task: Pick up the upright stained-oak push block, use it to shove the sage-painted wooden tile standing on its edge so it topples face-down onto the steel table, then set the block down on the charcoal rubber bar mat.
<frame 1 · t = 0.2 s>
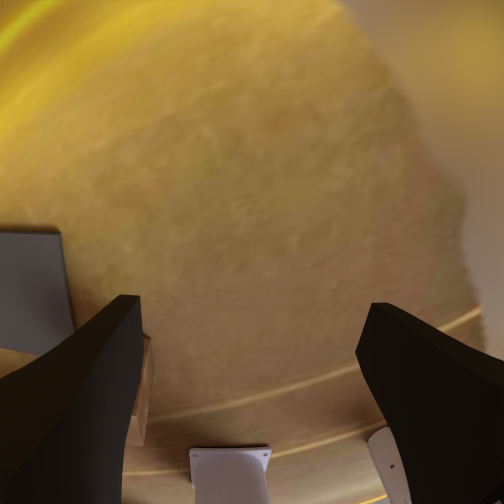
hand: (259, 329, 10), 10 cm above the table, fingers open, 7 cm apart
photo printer: (395, 436, 32), on the table
oak push block: (130, 353, 21), on the table
bar mat: (24, 297, 19), on the table
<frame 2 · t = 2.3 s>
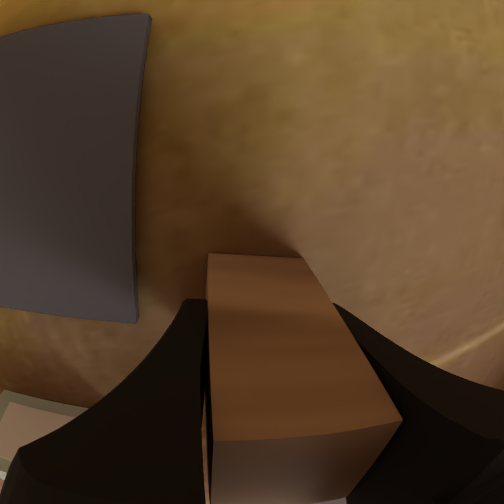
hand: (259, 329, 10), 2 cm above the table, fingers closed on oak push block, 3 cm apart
oak push block: (251, 297, 11), on the table, touching gripper
bar mat: (27, 175, 9), on the table
sage tile: (60, 408, 13), on the table
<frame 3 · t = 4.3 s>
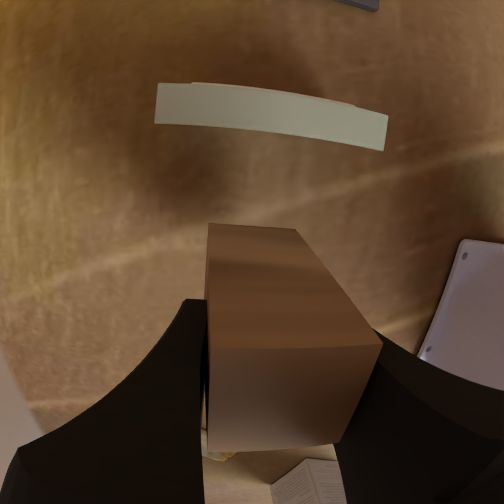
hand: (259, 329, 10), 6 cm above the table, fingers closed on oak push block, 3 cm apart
skincare box: (304, 472, 25), on the table
oak push block: (248, 266, 12), point 3 cm above the table, touching gripper
snack bar: (182, 425, 21), on the table
sage tile: (256, 116, 13), on the table
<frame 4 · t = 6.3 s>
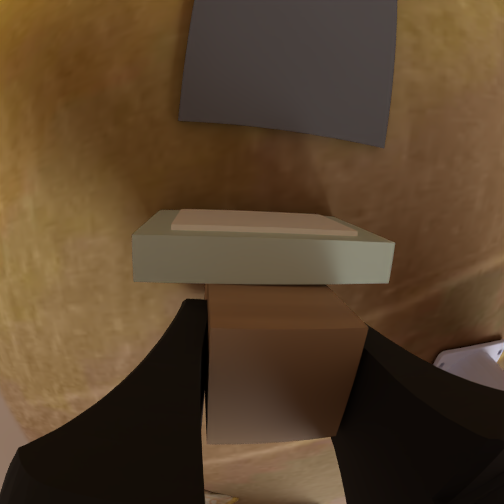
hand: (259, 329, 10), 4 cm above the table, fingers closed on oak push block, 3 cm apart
oak push block: (244, 283, 13), point 1 cm above the table, tilted 8°, touching gripper
snack bar: (184, 485, 22), on the table
bar mat: (300, 12, 10), on the table
sage tile: (248, 226, 13), on the table, tilted 8°
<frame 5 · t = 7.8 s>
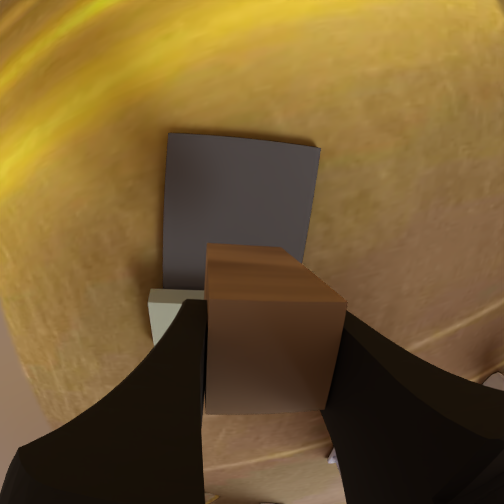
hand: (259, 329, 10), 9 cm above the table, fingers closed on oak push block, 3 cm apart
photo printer: (493, 387, 31), on the table
oak push block: (241, 281, 14), point 5 cm above the table, tilted 11°, touching gripper
snack bar: (180, 486, 30), on the table
bar mat: (236, 227, 18), on the table
sage tile: (209, 354, 21), point 1 cm above the table, tilted 80°, touching bar mat
when the fingers open (3 cm above the table, at t = 9.3 s): oak push block stays where it is, resting on bar mat.
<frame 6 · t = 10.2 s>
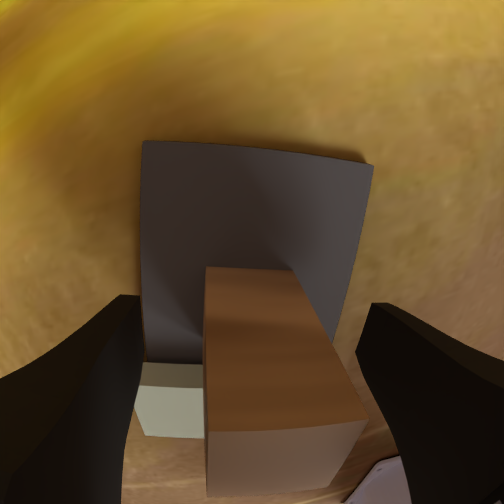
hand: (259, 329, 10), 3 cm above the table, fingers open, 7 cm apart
oak push block: (245, 306, 12), resting on bar mat
bar mat: (247, 280, 13), on the table
sage tile: (212, 428, 15), point 1 cm above the table, tilted 80°, touching bar mat
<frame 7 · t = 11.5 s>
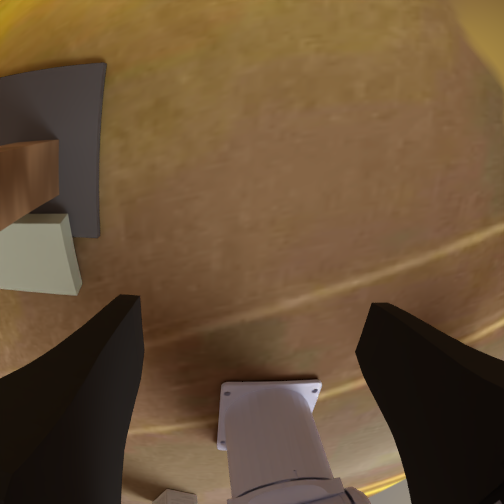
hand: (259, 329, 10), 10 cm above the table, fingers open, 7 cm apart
skincare box: (174, 497, 31), on the table
oak push block: (36, 168, 15), resting on bar mat
bar mat: (40, 152, 15), on the table
sage tile: (35, 286, 18), point 1 cm above the table, tilted 80°, touching bar mat
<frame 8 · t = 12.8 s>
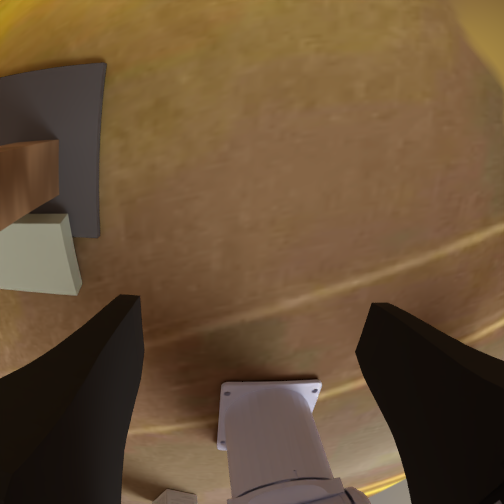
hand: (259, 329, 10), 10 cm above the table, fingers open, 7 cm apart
skincare box: (174, 497, 31), on the table
oak push block: (36, 168, 15), resting on bar mat
bar mat: (40, 152, 15), on the table
sage tile: (35, 286, 18), point 1 cm above the table, tilted 80°, touching bar mat
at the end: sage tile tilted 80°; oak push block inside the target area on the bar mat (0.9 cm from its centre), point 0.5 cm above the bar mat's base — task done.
